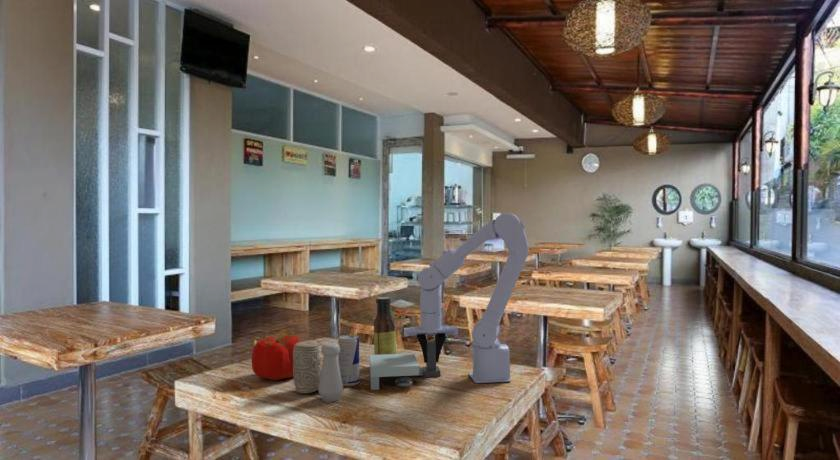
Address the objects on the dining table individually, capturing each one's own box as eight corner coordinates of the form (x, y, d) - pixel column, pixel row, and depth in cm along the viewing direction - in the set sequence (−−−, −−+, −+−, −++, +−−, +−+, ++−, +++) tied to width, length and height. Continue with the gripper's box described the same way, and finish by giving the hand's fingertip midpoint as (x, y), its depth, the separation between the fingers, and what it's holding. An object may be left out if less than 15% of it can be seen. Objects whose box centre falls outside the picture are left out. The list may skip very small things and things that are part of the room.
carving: (305, 385, 128) (304, 338, 128) (327, 390, 125) (327, 342, 124) (286, 392, 123) (286, 343, 123) (310, 398, 119) (309, 347, 119)
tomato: (298, 367, 145) (298, 330, 144) (309, 380, 133) (308, 340, 132) (248, 373, 139) (248, 335, 138) (255, 388, 127) (254, 346, 127)
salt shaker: (338, 404, 115) (337, 347, 115) (314, 402, 116) (314, 346, 116) (346, 395, 121) (346, 341, 121) (324, 393, 122) (323, 340, 122)
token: (411, 382, 132) (411, 377, 132) (413, 387, 127) (413, 382, 127) (394, 382, 131) (394, 378, 131) (396, 388, 127) (396, 383, 127)
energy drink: (363, 381, 131) (363, 335, 131) (352, 387, 126) (351, 340, 126) (345, 378, 134) (345, 333, 133) (334, 384, 129) (333, 338, 128)
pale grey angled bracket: (414, 373, 138) (413, 353, 138) (419, 387, 126) (419, 365, 126) (369, 375, 137) (369, 354, 136) (371, 390, 125) (370, 367, 125)
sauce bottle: (400, 366, 145) (400, 297, 145) (388, 371, 140) (387, 300, 139) (382, 362, 148) (382, 295, 148) (369, 368, 143) (368, 298, 143)
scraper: (437, 371, 140) (437, 339, 139) (440, 376, 135) (440, 342, 135) (389, 373, 138) (389, 340, 138) (390, 378, 134) (390, 344, 133)
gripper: (454, 308, 142) (454, 356, 142) (402, 309, 140) (403, 358, 140) (459, 313, 135) (459, 363, 135) (405, 314, 133) (405, 365, 133)
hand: (431, 361), depth 137 cm, fingers closed on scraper, 2 cm apart
